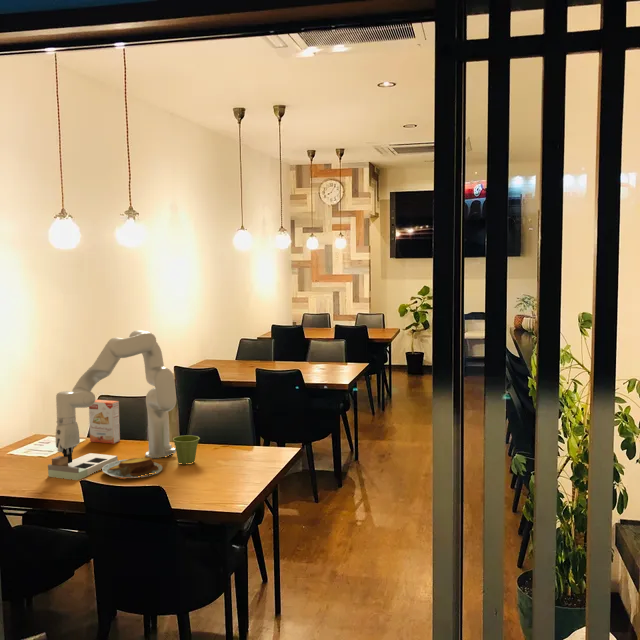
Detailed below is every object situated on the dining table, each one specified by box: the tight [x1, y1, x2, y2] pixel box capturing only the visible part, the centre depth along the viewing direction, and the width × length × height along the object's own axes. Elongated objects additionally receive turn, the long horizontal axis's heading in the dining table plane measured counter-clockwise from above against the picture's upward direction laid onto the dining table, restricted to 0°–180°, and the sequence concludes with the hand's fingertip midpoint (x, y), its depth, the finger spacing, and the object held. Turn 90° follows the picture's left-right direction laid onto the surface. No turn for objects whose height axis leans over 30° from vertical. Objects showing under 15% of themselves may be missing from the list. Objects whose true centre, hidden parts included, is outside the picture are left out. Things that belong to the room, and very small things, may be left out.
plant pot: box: [172, 434, 201, 464], centre depth 296 cm, size 12×12×11 cm
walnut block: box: [51, 455, 68, 466], centre depth 280 cm, size 4×4×4 cm
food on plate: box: [101, 456, 164, 480], centre depth 283 cm, size 25×25×7 cm
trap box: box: [47, 452, 119, 481], centre depth 288 cm, size 15×26×5 cm, turn 160°
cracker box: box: [88, 399, 121, 445], centre depth 334 cm, size 14×6×21 cm, turn 73°
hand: (68, 462), depth 284 cm, fingers closed
